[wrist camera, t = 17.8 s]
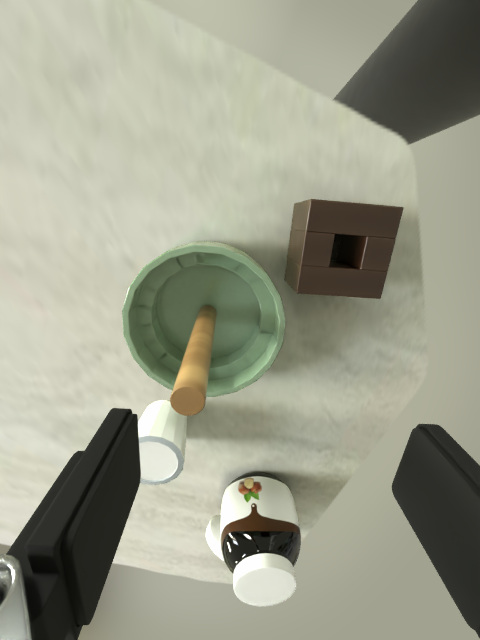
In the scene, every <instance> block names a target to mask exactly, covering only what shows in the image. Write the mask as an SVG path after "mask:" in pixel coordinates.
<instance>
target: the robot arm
mask: <svg viewBox="0 0 480 640" xmlns="http://www.w3.org/2000/svg"><path fill="white" fill-rule="evenodd" d="M140 479H141V468H140V452H139V435H138V419H137V414H132V411H131V409H119V408H113V409H111V410H110V412H109V413H108V415H107V417H106V418H105V420H104V421H103V423H102V424H101V426H100V428H99V429H98V431H97V432H96V434H95V435H94V437H93V439H92V440H91V442H90V443H89V445H88V446H87V448H86V450H85V451H78V452H76V453H75V454H74V455H73V456H72V457H71V459H70V460H69V462H68V463H67V465H66V466H65V468H64V469H63V471H62V472H61V473H60V475H59V476H58V478H57V479H56V481H55V482H54V484H53V485H52V487H51V488H50V490H49V491H48V493H47V494H46V496H45V497H44V499H43V500H42V502H41V503H40V505H39V506H38V508H37V509H36V511H35V512H34V514H33V515H32V517H31V518H30V520H29V521H28V523H27V524H26V526H25V527H24V528H23V530H22V531H21V533H20V534H19V536H18V537H17V539H16V540H15V542H14V543H13V545H12V546H11V548H10V549H9V551H8V552H7V554H6V555H3V554H0V640H77V639H78V637H79V634H80V631H81V628H82V626H83V625H89V623H90V622H91V620H92V618H93V615H94V613H95V610H96V607H97V604H98V601H99V599H100V596H101V592H102V590H103V587H104V584H105V581H106V579H107V576H108V573H109V570H110V567H111V564H112V562H113V559H114V556H115V553H116V550H117V547H118V544H119V542H120V539H121V536H122V533H123V530H124V527H125V524H126V522H127V519H128V516H129V513H130V510H131V507H132V505H133V502H134V499H135V496H136V493H137V490H138V487H139V484H140ZM392 491H393V494H394V497H395V499H396V500H397V502H398V504H399V506H400V507H401V509H402V510H403V512H404V514H405V516H406V518H407V520H408V521H409V523H410V525H411V526H412V528H413V530H414V532H415V533H416V535H417V537H418V539H419V541H420V542H421V544H422V546H423V548H424V549H425V551H426V553H427V554H428V556H429V558H430V560H431V562H432V563H433V565H434V567H435V568H436V570H437V572H438V574H439V576H440V577H441V579H442V581H443V582H444V584H445V586H446V588H447V590H448V591H449V593H450V595H451V597H452V598H453V600H454V602H455V604H456V605H457V607H458V609H459V610H460V612H461V614H462V616H463V617H464V619H465V621H466V622H467V624H468V625H469V626H470V627H471V628H472V629H474V630H475V631H476V632H477V634H478V636H479V638H480V466H479V465H478V463H476V461H475V460H474V459H473V458H471V456H470V455H469V454H467V452H466V451H465V450H464V449H463V448H462V447H461V446H460V445H459V444H458V443H457V442H456V441H455V440H454V439H453V438H452V437H451V436H450V435H449V434H448V433H447V432H446V431H445V430H444V429H443V428H442V427H440V426H439V425H434V424H419V425H417V427H416V428H414V429H413V430H412V432H411V435H410V438H409V440H408V443H407V446H406V448H405V451H404V454H403V457H402V459H401V462H400V464H399V467H398V470H397V472H396V475H395V478H394V481H393V483H392Z"/></svg>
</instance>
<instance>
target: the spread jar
mask: <svg viewBox="0 0 480 640" xmlns="http://www.w3.org/2000/svg"><path fill="white" fill-rule="evenodd" d="M206 539H207V542H208V544H209V546H210V548H211V549H212V551H213V552H214V553H215V554H216V555H217V556H218V557H219V558H220V559H222V560H223V561H225V563H226V565H227V567H228V568H229V569H230V571H231V572H232V573H233V574H234V592H235V595H236V596H237V597H238V598H239V599H240V600H241V601H242V602H244V603H246V604H250V605H254V606H270V605H275V604H278V603H281V602H283V601H285V600H286V599H288V598H289V597H290V596H291V595H292V594H293V593H294V591H295V589H296V579H295V573H294V568H293V567H294V565H295V563H296V561H297V559H298V555H299V551H300V545H301V534H300V525H299V520H298V515H297V511H296V507H295V503H294V499H293V496H292V494H291V492H290V490H289V488H288V487H287V486H286V485H285V483H284V482H282V481H281V480H279V479H278V478H276V477H274V476H272V475H270V474H266V473H262V472H253V473H248V474H245V475H242V476H240V477H238V478H236V479H235V480H234V481H232V482H231V483H230V484H229V486H228V487H227V489H226V490H225V493H224V496H223V500H222V505H221V515H216V516H214V517H213V518H212V519H211V521H210V523H209V525H208V527H207V529H206Z"/></svg>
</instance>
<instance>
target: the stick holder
mask: <svg viewBox="0 0 480 640" xmlns="http://www.w3.org/2000/svg"><path fill="white" fill-rule="evenodd" d="M402 212H403V207H395V206H384V205H373V204H361V203H350V202H339V201H327V200H316V199H310V200H306V201H303V202H299V203H295V204H294V211H293V219H292V226H291V233H290V241H289V248H288V256H287V264H286V271H285V279H284V280H285V281H286V282H287V283H288V284H289V285H290V286H291V287H292V288H293V289H294V291H295V292H296V293H301V294H316V295H331V296H346V297H361V298H376V299H381V295H382V291H383V287H384V283H385V279H386V275H387V271H388V267H389V263H390V259H391V255H392V252H393V248H394V244H395V238H396V235H397V231H398V228H399V224H400V220H401V216H402ZM335 234H341V236H340V241H339V247H338V252H337V257H336V261H335V260H330V259H331V253H332V248H333V242H334V237H335Z"/></svg>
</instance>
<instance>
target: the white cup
mask: <svg viewBox="0 0 480 640" xmlns="http://www.w3.org/2000/svg"><path fill="white" fill-rule="evenodd" d="M186 430H187V416H185V415H181V414H179V413H177V412H176V411H175V410H174V409H173V408H172V406H171V404H170V401H168V400H161V401H156V402H154V403H152V404H150V405H149V406H148V407H147V409H146V410H145V412H144V413H143V415H142V417H141V418H140V420H139V422H138V435H139V452H140V468H141V479H140V483H142V484H149V485H159V484H164V483H168V482H170V481H171V480H173V479H175V478H177V476H178V475H179V474H180V473H181V471H182V470H183V465H184V457H185V443H186Z"/></svg>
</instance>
